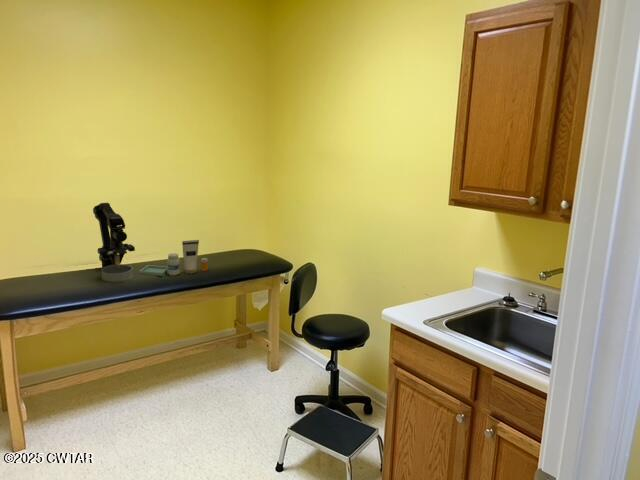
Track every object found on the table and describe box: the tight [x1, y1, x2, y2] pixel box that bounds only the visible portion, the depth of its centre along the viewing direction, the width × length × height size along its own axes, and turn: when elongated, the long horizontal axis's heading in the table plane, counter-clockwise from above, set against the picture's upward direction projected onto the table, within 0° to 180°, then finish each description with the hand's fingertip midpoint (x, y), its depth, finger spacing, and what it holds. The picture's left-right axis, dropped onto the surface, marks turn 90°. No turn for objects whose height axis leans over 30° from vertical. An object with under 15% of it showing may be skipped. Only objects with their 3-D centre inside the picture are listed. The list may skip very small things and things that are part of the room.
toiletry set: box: [166, 239, 209, 276], centre depth 275 cm, size 25×8×20 cm, turn 121°
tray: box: [138, 264, 167, 277], centre depth 272 cm, size 14×12×2 cm
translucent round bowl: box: [100, 263, 134, 283], centre depth 259 cm, size 17×17×6 cm
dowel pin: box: [114, 254, 120, 269], centre depth 257 cm, size 3×3×8 cm
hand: (117, 263), depth 258 cm, fingers closed on dowel pin, 3 cm apart
